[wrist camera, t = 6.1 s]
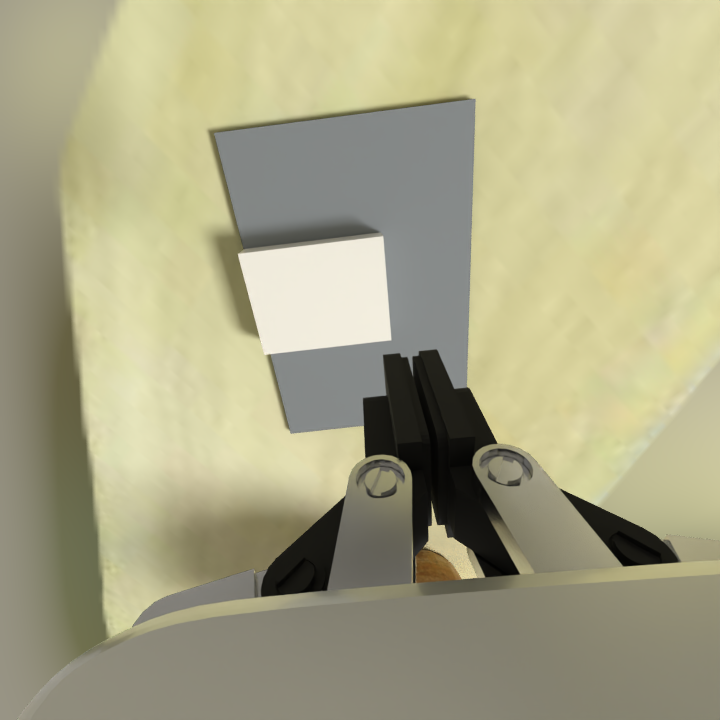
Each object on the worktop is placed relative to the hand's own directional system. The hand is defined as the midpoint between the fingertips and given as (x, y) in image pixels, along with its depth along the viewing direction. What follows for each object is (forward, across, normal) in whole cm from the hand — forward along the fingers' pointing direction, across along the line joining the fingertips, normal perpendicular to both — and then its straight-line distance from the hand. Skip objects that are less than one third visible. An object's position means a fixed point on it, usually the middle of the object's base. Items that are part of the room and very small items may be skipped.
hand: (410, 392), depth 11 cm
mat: (+15, +1, +2) cm, 16 cm away
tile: (+14, 0, +1) cm, 14 cm away
